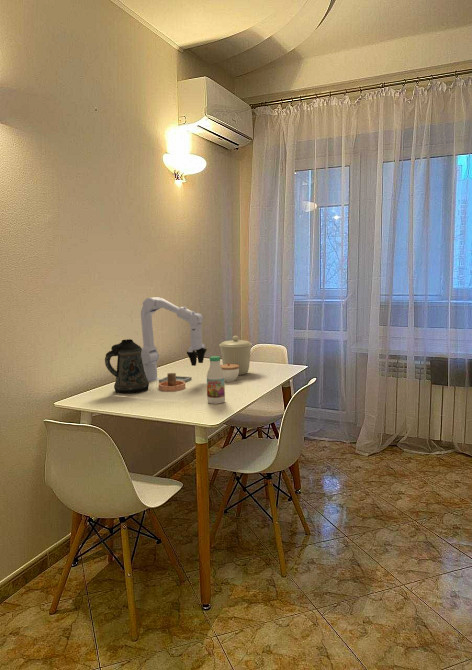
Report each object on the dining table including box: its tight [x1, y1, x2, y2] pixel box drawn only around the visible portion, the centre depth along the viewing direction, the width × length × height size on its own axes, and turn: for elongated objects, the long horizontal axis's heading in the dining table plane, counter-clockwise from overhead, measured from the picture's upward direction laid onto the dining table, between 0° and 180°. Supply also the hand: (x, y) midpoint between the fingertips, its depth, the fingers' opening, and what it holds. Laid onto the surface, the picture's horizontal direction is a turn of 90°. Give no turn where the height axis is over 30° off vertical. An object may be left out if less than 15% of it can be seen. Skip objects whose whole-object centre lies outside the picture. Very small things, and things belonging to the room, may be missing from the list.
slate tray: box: [158, 375, 193, 384], centre depth 267 cm, size 13×11×2 cm
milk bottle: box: [206, 355, 226, 405], centre depth 224 cm, size 8×8×20 cm
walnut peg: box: [166, 372, 177, 386], centre depth 251 cm, size 4×4×7 cm
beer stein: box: [104, 338, 150, 395], centre depth 247 cm, size 16×19×25 cm
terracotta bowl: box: [158, 381, 186, 392], centre depth 252 cm, size 13×13×3 cm
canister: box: [218, 335, 253, 376], centre depth 284 cm, size 18×18×21 cm
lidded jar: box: [220, 363, 239, 383], centre depth 268 cm, size 11×11×9 cm
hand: (197, 364), depth 261 cm, fingers open, 7 cm apart
